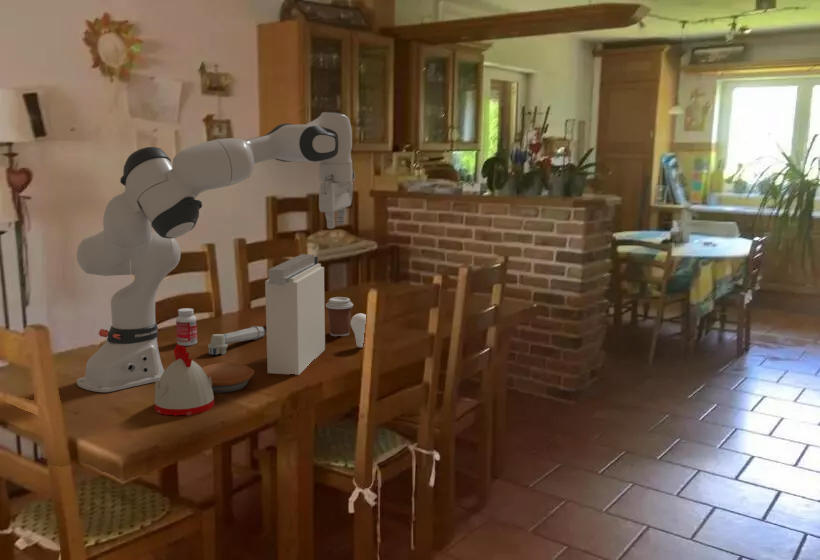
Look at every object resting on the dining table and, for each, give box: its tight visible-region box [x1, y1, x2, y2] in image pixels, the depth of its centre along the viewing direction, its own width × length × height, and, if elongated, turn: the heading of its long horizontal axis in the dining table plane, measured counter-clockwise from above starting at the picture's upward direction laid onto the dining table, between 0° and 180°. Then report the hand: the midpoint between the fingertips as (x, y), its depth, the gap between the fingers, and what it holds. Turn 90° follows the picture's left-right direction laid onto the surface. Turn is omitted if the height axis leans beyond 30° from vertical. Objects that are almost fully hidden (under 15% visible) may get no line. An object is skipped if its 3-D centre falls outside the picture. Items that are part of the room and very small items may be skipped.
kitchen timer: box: [153, 344, 215, 417], centre depth 178 cm, size 14×14×15 cm
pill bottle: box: [175, 307, 198, 347], centre depth 233 cm, size 6×6×11 cm
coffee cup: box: [325, 296, 354, 337], centre depth 247 cm, size 9×9×12 cm
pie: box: [201, 362, 255, 394], centre depth 194 cm, size 15×16×5 cm
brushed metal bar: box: [268, 253, 315, 285], centre depth 209 cm, size 28×4×4 cm, turn 170°
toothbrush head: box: [207, 325, 266, 356], centre depth 232 cm, size 5×7×25 cm
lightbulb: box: [350, 312, 367, 349], centre depth 231 cm, size 6×6×11 cm
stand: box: [264, 256, 326, 376], centre depth 215 cm, size 27×9×29 cm, turn 170°
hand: (336, 226), depth 200 cm, fingers open, 8 cm apart
